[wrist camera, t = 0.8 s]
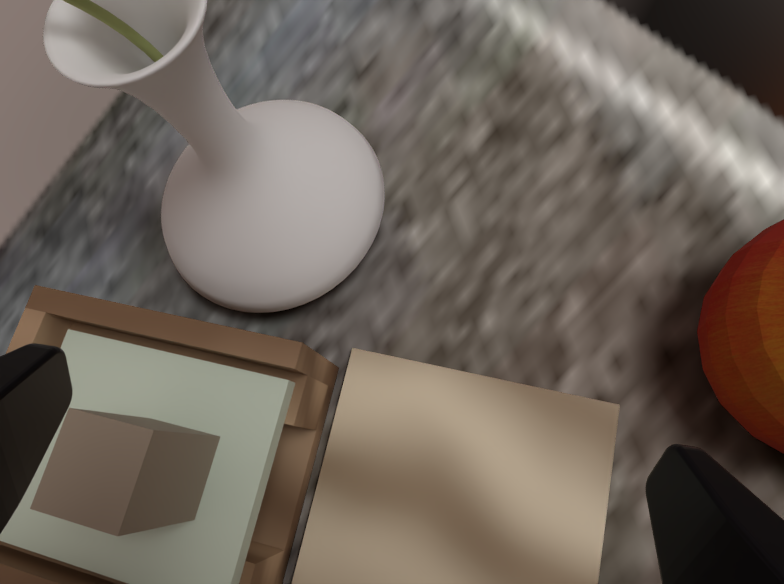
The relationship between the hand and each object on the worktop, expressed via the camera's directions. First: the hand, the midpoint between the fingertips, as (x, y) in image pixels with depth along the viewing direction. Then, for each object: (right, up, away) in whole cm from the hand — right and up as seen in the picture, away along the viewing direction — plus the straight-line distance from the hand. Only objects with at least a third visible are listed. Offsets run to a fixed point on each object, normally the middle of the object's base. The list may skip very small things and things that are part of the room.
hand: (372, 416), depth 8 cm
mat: (+3, -8, +15) cm, 17 cm away
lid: (-9, -5, +13) cm, 17 cm away
